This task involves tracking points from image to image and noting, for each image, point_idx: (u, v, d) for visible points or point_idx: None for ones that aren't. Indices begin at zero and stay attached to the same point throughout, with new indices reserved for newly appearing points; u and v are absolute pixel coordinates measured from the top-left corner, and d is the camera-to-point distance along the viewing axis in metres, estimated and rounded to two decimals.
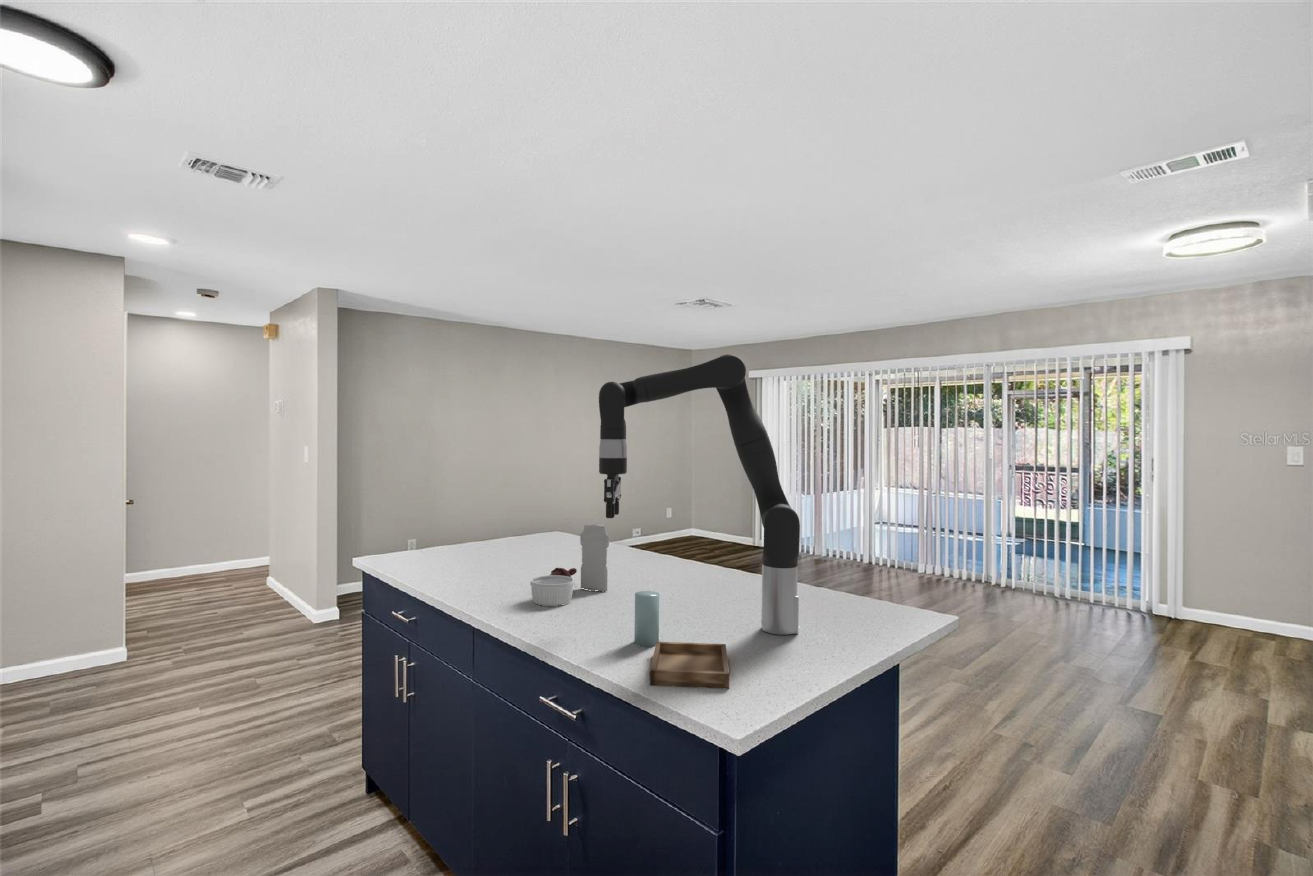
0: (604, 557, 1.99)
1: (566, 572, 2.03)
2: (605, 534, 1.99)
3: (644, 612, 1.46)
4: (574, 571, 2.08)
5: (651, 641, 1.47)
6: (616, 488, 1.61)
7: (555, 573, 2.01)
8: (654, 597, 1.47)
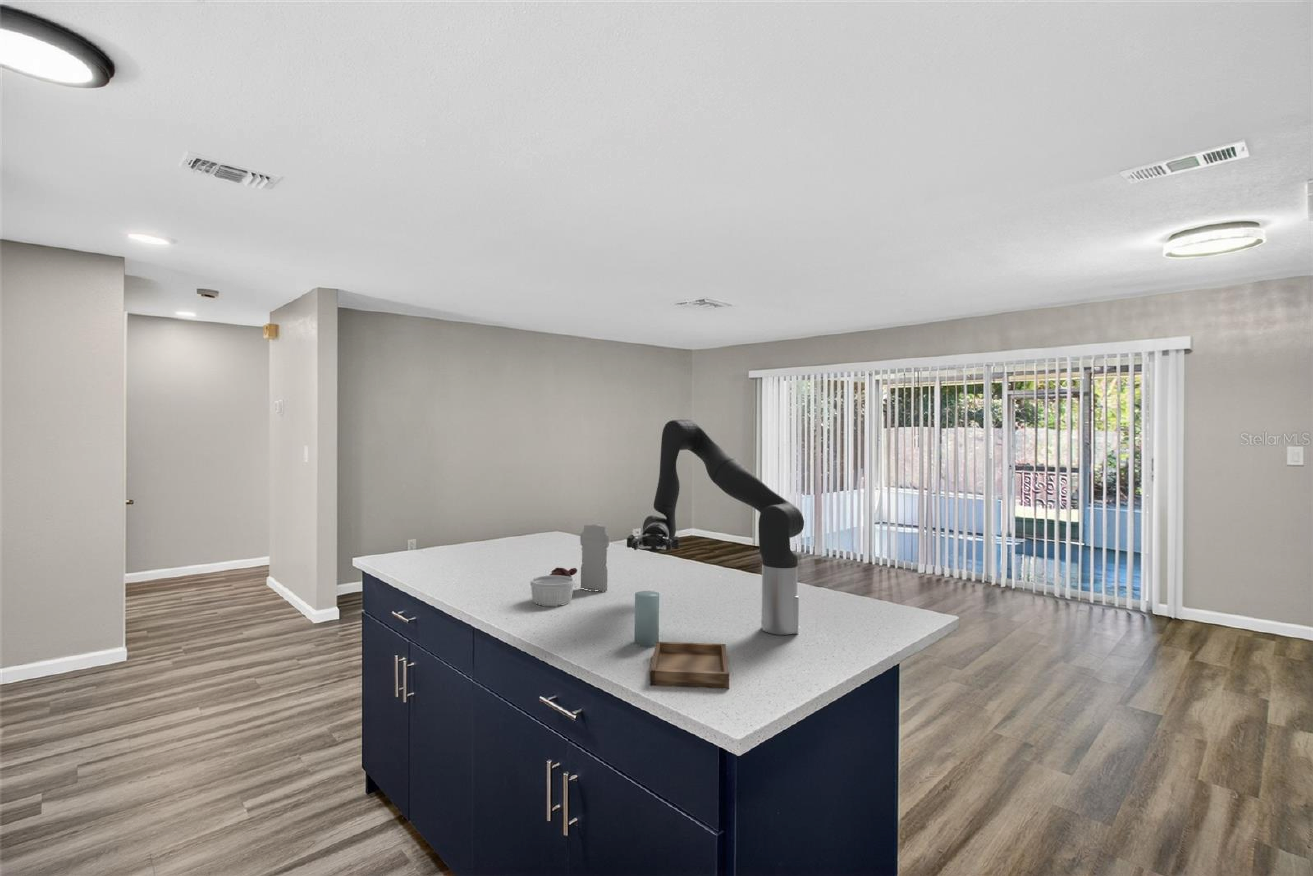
0: (604, 557, 1.99)
1: (566, 572, 2.04)
2: (605, 534, 1.99)
3: (644, 612, 1.46)
4: (574, 571, 2.08)
5: (651, 641, 1.47)
6: (642, 536, 1.68)
7: (555, 573, 2.02)
8: (654, 597, 1.47)
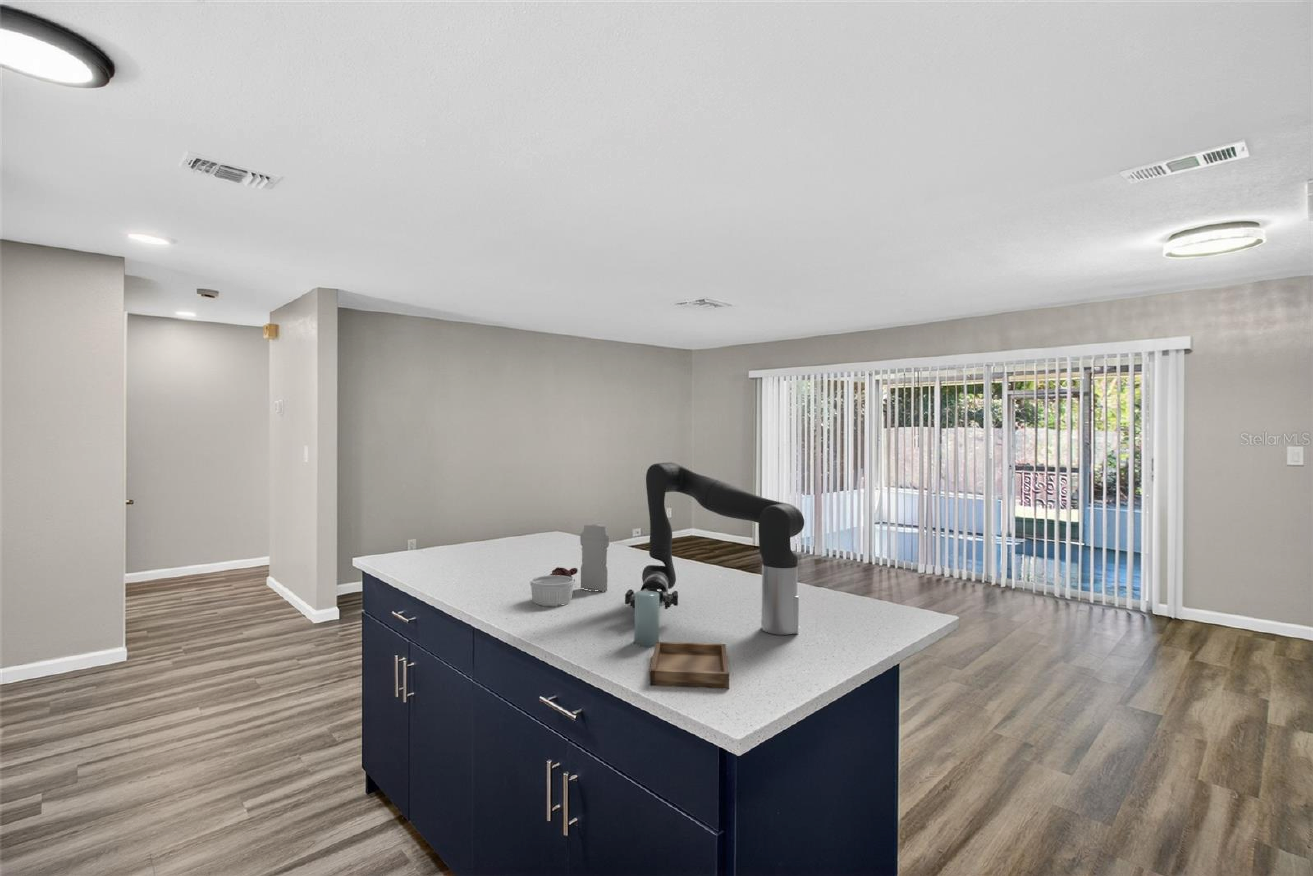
0: (604, 557, 1.99)
1: (567, 572, 2.04)
2: (605, 534, 1.99)
3: (644, 612, 1.46)
4: (575, 571, 2.09)
5: (651, 641, 1.47)
6: None
7: (556, 573, 2.02)
8: (654, 597, 1.47)
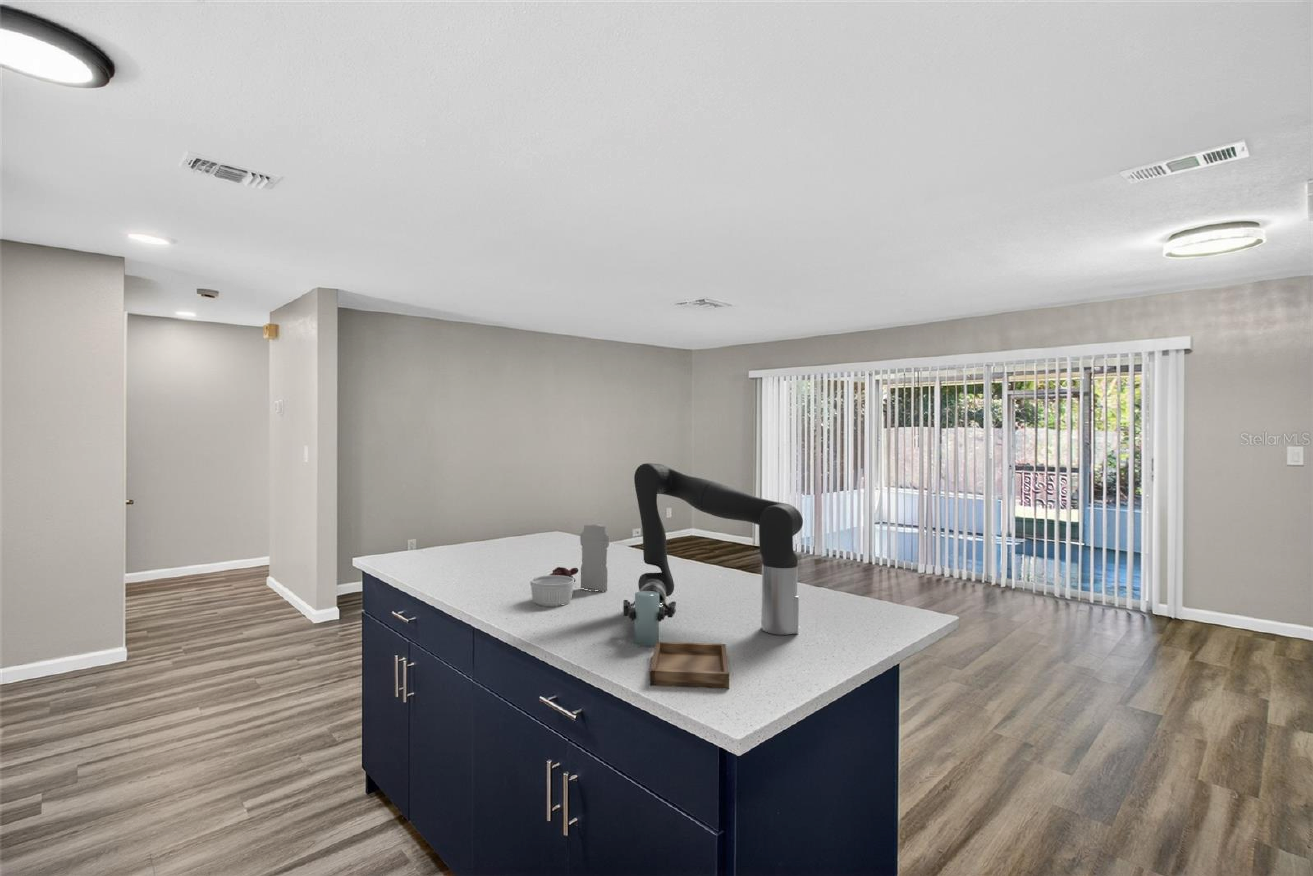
0: (604, 557, 1.99)
1: (567, 571, 2.04)
2: (605, 534, 1.99)
3: (644, 612, 1.46)
4: (576, 570, 2.09)
5: (651, 641, 1.47)
6: None
7: (556, 572, 2.03)
8: (654, 597, 1.47)
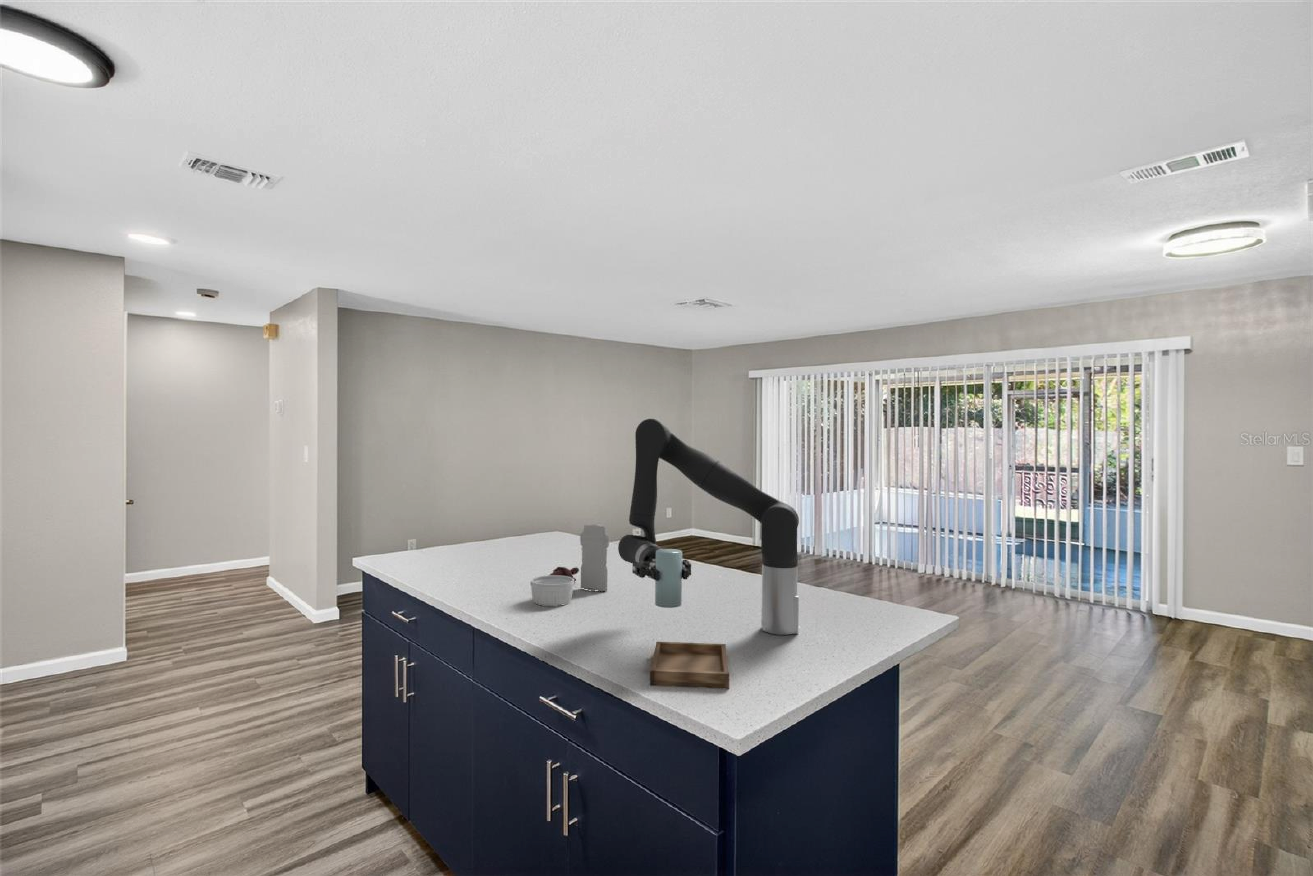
0: (604, 557, 1.99)
1: (567, 571, 2.05)
2: (605, 534, 1.99)
3: (670, 570, 1.34)
4: (576, 570, 2.09)
5: (677, 601, 1.35)
6: (651, 562, 1.42)
7: (556, 572, 2.03)
8: (680, 553, 1.36)
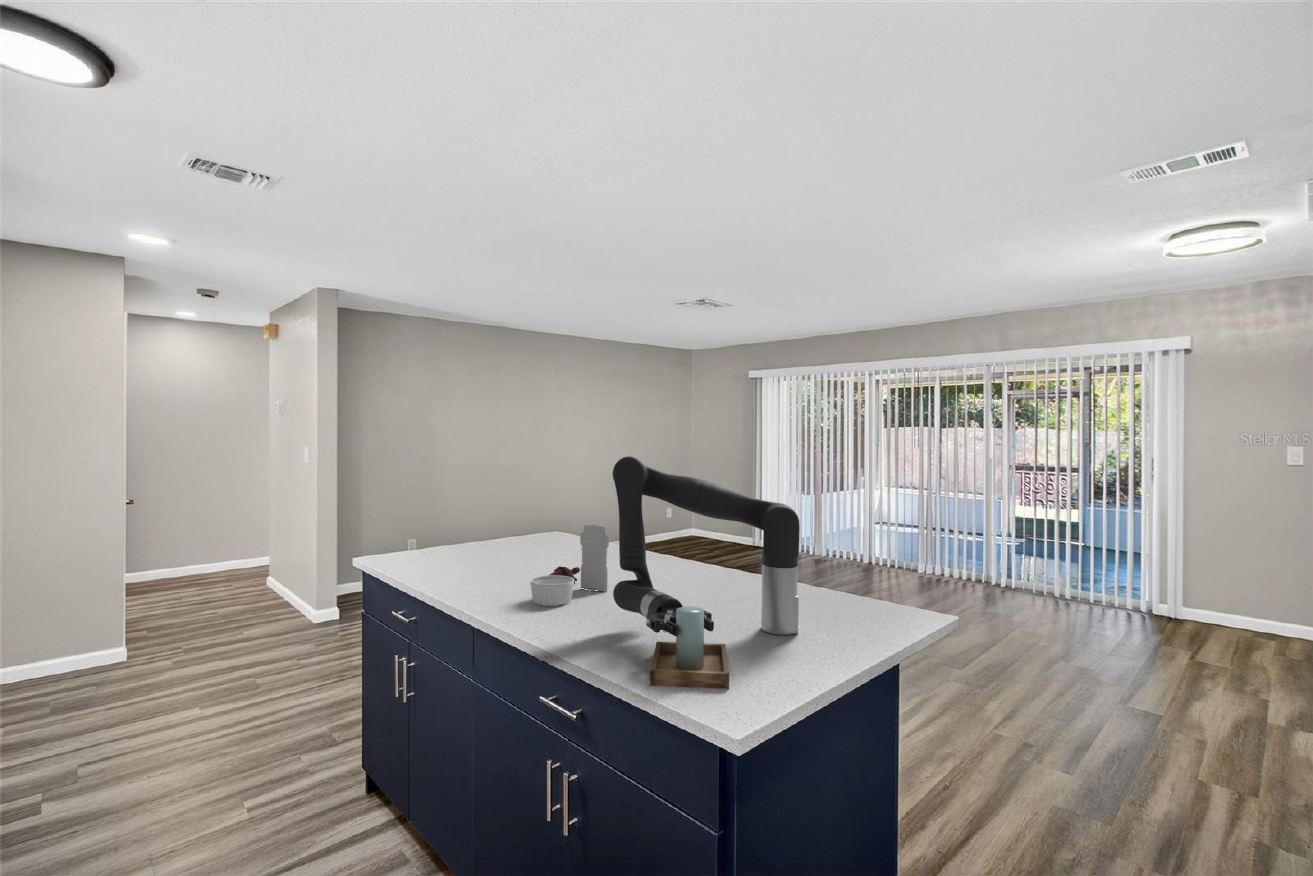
0: (604, 557, 1.99)
1: (568, 571, 2.05)
2: (605, 534, 1.99)
3: (694, 631, 1.29)
4: (577, 570, 2.10)
5: (701, 663, 1.30)
6: (666, 614, 1.36)
7: (557, 572, 2.04)
8: (703, 612, 1.31)
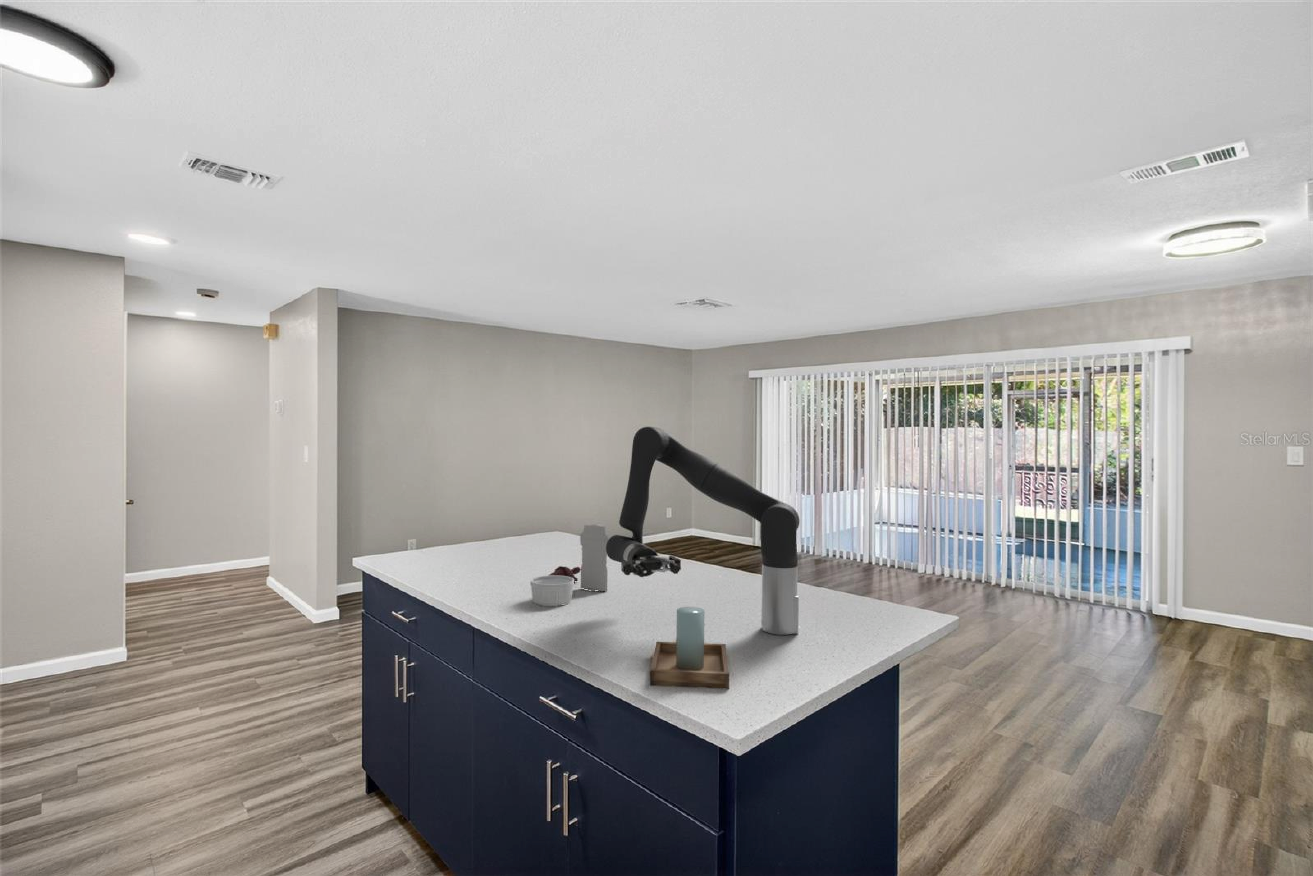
0: (604, 557, 1.99)
1: (568, 571, 2.05)
2: (605, 534, 1.99)
3: (695, 632, 1.29)
4: (578, 570, 2.10)
5: (701, 663, 1.30)
6: None
7: (557, 571, 2.04)
8: (703, 613, 1.30)
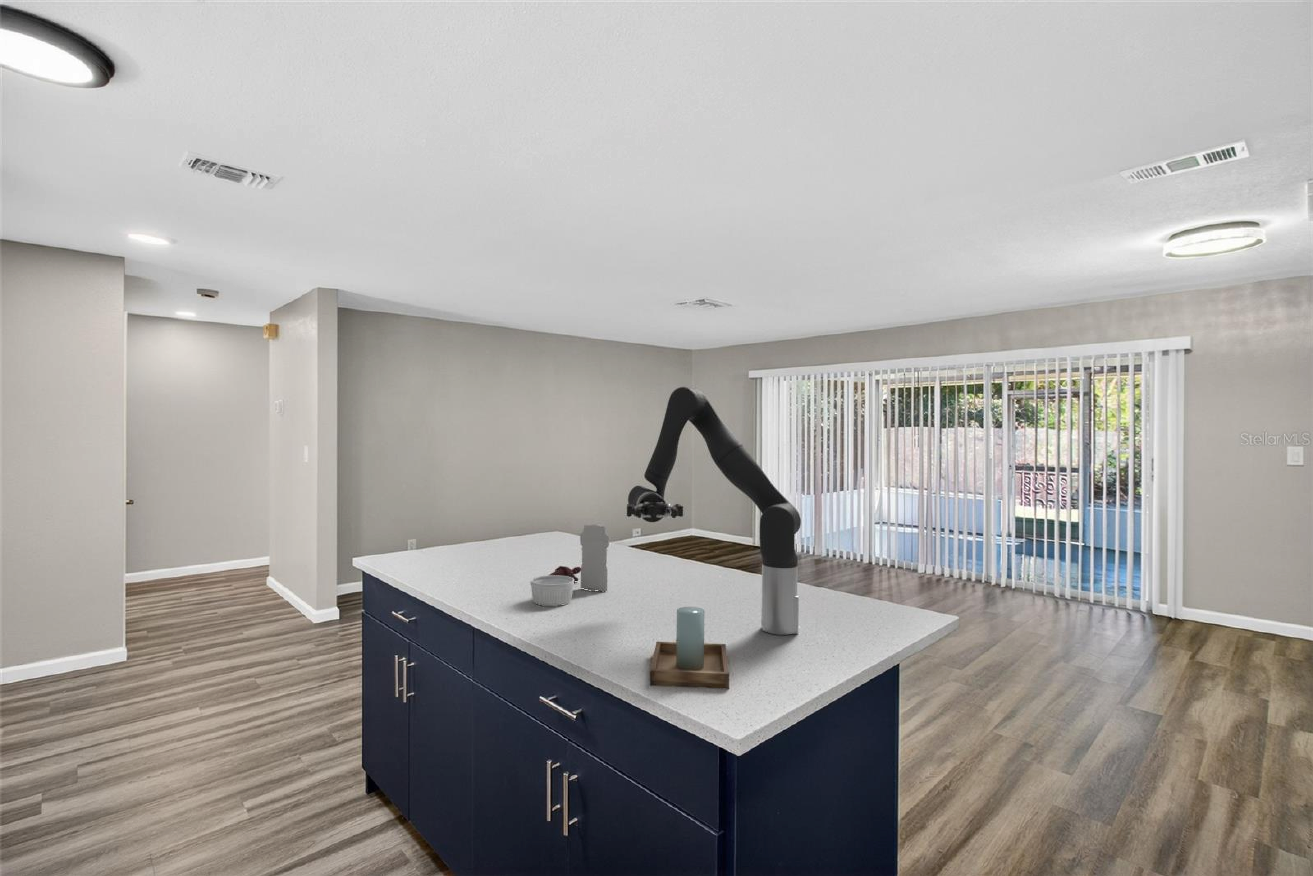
0: (604, 557, 1.99)
1: (569, 570, 2.06)
2: (605, 534, 1.99)
3: (695, 632, 1.29)
4: (578, 570, 2.10)
5: (701, 663, 1.30)
6: (642, 504, 1.55)
7: (558, 571, 2.04)
8: (703, 613, 1.30)
